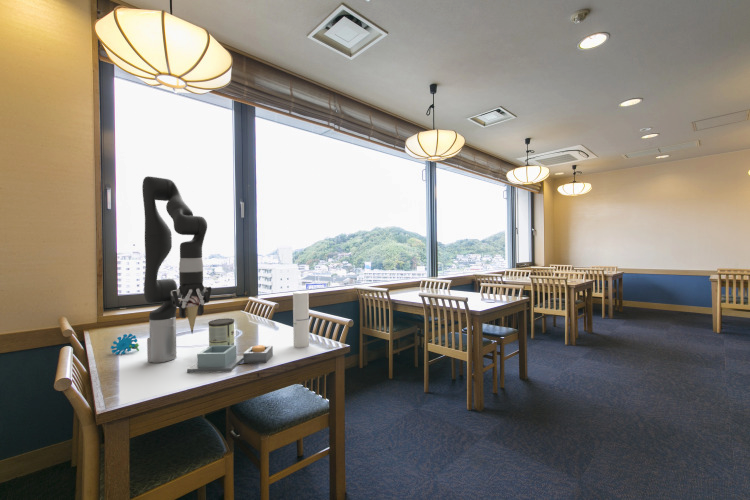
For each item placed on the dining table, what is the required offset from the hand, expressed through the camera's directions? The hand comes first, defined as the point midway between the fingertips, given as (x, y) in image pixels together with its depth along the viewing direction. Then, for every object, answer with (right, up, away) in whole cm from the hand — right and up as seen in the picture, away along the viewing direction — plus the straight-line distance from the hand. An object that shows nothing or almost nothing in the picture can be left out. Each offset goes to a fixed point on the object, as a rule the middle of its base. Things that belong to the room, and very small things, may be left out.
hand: (191, 316), depth 118 cm
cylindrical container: (+32, -21, +34) cm, 51 cm away
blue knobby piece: (-44, -22, +26) cm, 56 cm away
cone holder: (+5, -21, +9) cm, 23 cm away
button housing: (+19, -21, +15) cm, 32 cm away
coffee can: (0, -21, +24) cm, 32 cm away
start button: (+19, -19, +15) cm, 31 cm away
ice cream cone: (0, -7, 0) cm, 7 cm away
